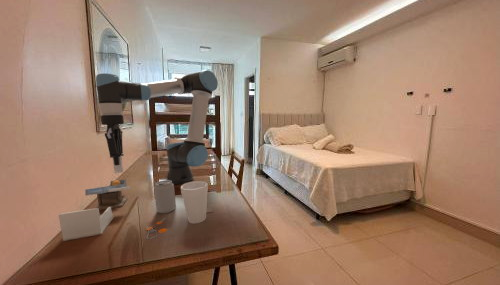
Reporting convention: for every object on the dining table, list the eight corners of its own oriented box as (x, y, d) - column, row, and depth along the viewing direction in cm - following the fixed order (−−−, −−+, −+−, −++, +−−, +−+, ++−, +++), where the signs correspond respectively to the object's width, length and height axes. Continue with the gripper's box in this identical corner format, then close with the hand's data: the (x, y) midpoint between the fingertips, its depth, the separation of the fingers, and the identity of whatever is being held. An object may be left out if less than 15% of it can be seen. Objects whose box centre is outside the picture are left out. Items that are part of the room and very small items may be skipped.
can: (153, 210, 85) (150, 182, 83) (171, 204, 90) (168, 178, 88) (161, 216, 79) (158, 186, 78) (179, 209, 85) (176, 181, 83)
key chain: (167, 235, 67) (167, 233, 67) (142, 241, 64) (142, 239, 64) (167, 218, 79) (167, 216, 79) (146, 222, 76) (145, 220, 76)
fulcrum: (100, 203, 95) (98, 186, 94) (127, 199, 98) (125, 183, 97) (93, 211, 87) (90, 192, 86) (122, 206, 90) (119, 189, 89)
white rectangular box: (81, 223, 77) (77, 200, 76) (113, 218, 80) (110, 195, 79) (63, 240, 66) (58, 214, 65) (101, 234, 69) (97, 208, 68)
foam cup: (182, 216, 79) (179, 183, 77) (207, 210, 82) (204, 179, 81) (185, 228, 70) (182, 192, 68) (212, 221, 74) (209, 186, 72)
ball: (122, 186, 102) (121, 179, 102) (116, 188, 99) (116, 180, 99) (116, 186, 103) (115, 179, 103) (110, 188, 99) (109, 181, 99)
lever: (113, 189, 104) (112, 181, 105) (141, 186, 108) (140, 177, 108) (85, 195, 77) (85, 183, 78) (124, 190, 81) (123, 179, 81)
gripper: (107, 115, 87) (114, 169, 90) (93, 114, 74) (102, 177, 77) (127, 114, 89) (133, 167, 92) (117, 113, 77) (124, 175, 80)
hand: (119, 172), depth 85 cm, fingers closed
